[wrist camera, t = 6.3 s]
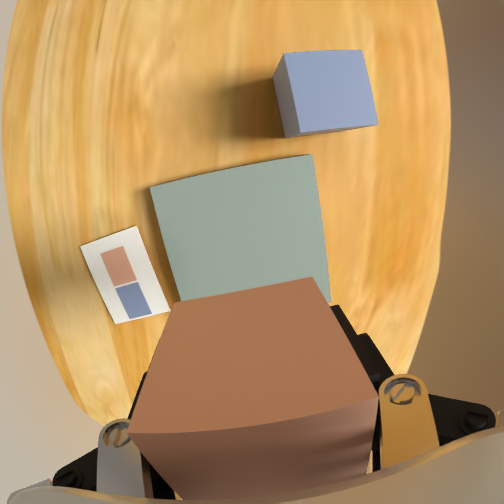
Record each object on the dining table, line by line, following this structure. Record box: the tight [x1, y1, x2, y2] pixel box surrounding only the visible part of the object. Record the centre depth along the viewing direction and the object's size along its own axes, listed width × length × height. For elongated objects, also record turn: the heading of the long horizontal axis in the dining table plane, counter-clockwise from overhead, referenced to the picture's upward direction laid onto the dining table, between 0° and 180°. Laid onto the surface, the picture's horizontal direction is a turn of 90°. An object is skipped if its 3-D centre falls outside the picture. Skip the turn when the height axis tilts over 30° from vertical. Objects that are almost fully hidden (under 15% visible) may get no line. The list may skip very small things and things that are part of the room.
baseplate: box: [150, 154, 331, 303], centre depth 23 cm, size 12×12×2 cm
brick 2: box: [272, 50, 378, 138], centre depth 18 cm, size 5×5×6 cm
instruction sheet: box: [80, 226, 171, 324], centre depth 24 cm, size 8×6×1 cm
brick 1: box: [127, 276, 379, 500], centre depth 8 cm, size 5×5×6 cm
